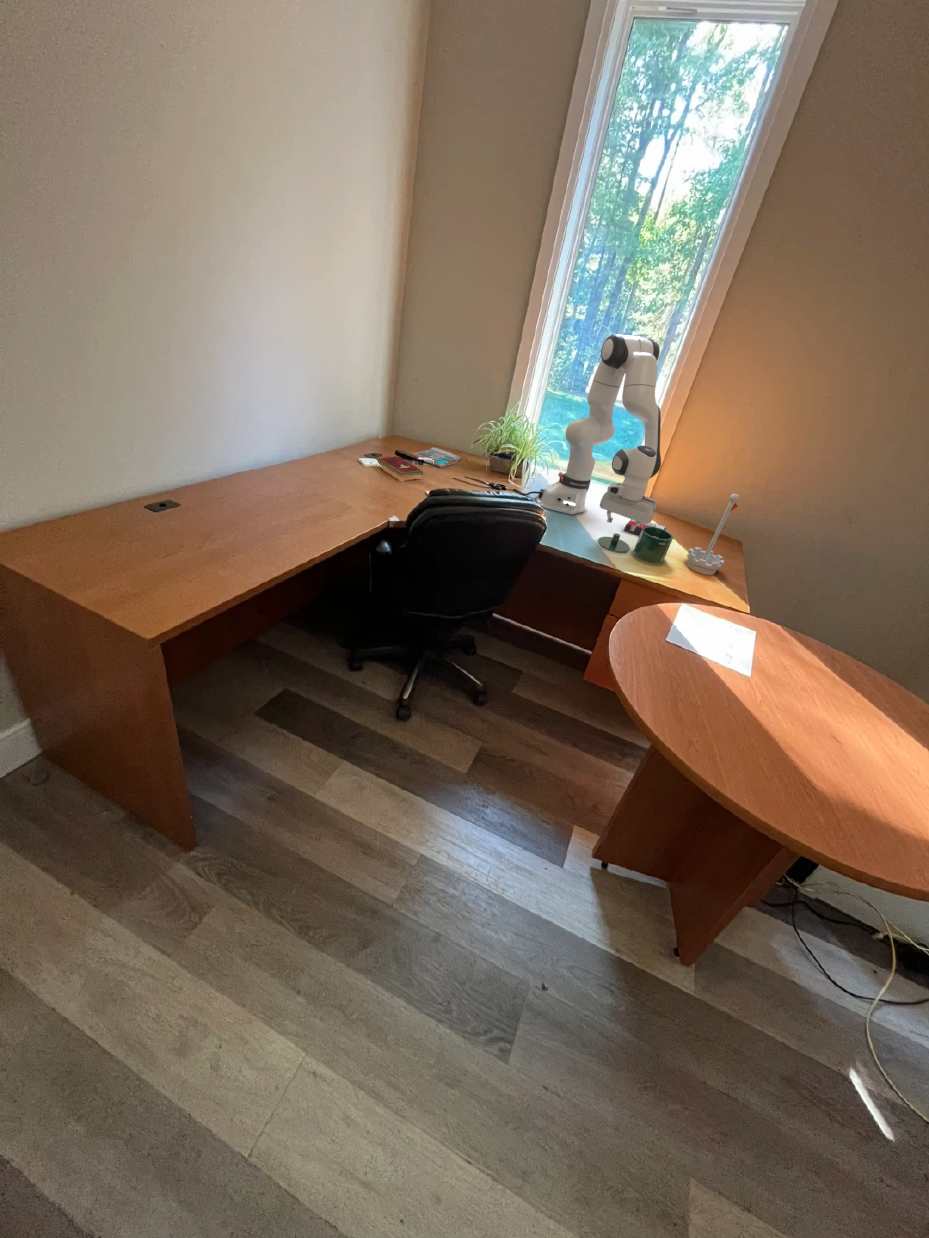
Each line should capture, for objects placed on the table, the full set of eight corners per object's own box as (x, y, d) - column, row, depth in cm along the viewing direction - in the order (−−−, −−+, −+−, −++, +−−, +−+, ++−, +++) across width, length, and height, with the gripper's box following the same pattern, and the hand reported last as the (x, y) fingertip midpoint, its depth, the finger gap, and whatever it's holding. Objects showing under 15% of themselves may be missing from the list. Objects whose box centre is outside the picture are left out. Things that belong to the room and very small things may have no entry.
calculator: (632, 516, 215) (667, 525, 210) (629, 525, 218) (663, 535, 212) (626, 523, 207) (661, 533, 201) (623, 533, 209) (658, 543, 204)
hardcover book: (398, 463, 238) (398, 455, 236) (422, 479, 226) (423, 470, 224) (376, 466, 231) (376, 457, 229) (400, 481, 219) (401, 472, 217)
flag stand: (705, 578, 183) (742, 502, 166) (677, 561, 192) (709, 488, 175) (725, 573, 190) (763, 499, 173) (697, 557, 198) (730, 486, 181)
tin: (637, 565, 184) (647, 540, 178) (628, 545, 198) (637, 521, 192) (667, 570, 184) (678, 545, 178) (656, 550, 198) (666, 526, 192)
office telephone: (435, 445, 264) (465, 456, 256) (434, 450, 266) (465, 460, 258) (408, 452, 247) (440, 463, 239) (407, 457, 249) (439, 468, 241)
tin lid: (599, 551, 190) (603, 538, 187) (595, 537, 200) (598, 525, 197) (631, 556, 190) (636, 544, 187) (625, 542, 200) (629, 530, 197)
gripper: (661, 499, 180) (648, 533, 188) (610, 482, 188) (599, 515, 196) (656, 503, 175) (643, 538, 183) (604, 485, 184) (593, 519, 192)
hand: (620, 526), depth 190 cm, fingers open, 8 cm apart
